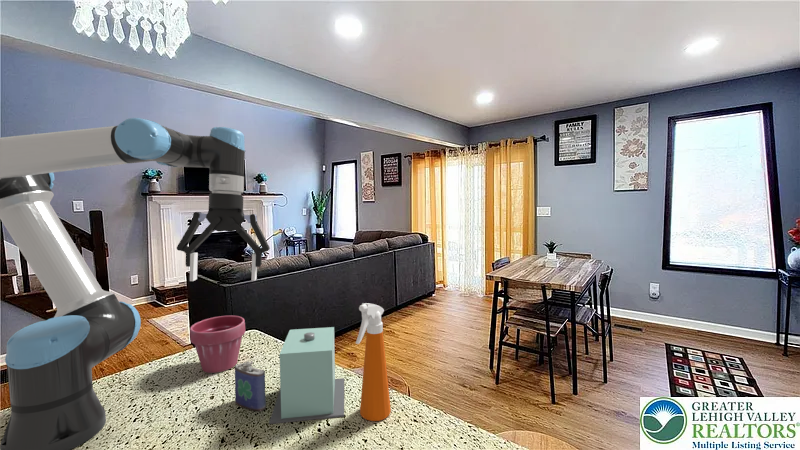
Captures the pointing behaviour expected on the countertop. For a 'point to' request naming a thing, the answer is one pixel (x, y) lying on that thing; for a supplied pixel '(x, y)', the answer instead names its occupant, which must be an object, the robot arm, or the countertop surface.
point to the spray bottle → (374, 366)
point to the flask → (250, 387)
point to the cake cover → (307, 373)
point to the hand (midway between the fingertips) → (224, 280)
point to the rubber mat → (337, 412)
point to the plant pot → (218, 342)
